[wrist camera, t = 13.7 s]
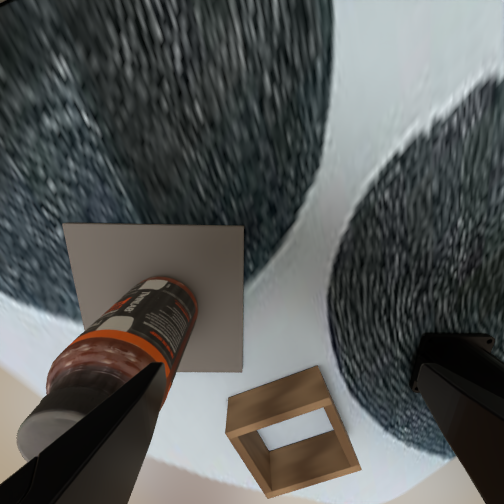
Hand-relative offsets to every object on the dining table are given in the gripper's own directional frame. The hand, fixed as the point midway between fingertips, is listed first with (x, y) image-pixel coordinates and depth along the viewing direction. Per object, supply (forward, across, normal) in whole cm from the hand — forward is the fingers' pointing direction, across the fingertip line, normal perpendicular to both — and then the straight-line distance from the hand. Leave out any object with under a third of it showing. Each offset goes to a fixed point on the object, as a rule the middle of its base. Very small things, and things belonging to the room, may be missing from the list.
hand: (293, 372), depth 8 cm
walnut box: (+12, -3, +17) cm, 21 cm away
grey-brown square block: (+12, +9, +4) cm, 16 cm away
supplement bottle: (+12, +9, +4) cm, 15 cm away
